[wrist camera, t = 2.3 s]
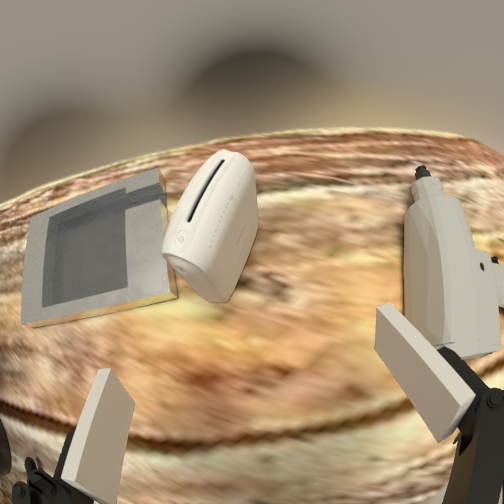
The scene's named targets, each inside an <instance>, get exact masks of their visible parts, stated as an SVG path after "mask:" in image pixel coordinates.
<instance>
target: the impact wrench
mask: <svg viewBox="0 0 504 504" xmlns="http://www.w3.org/2000/svg"><path fill="white" fill-rule="evenodd" d="M415 170H416V173H415V177H416V180H417V181H415V182H414V183H413V185H412V186H411V192H412V195H413V199H414V200H415V203H414V204H412V205H411V206H410V207H409V209H408V210H407V212H406V214H405V215H404V267H403V270H404V299H405V318H406V319H407V320H408V321H409V322H410V323H411V324H412V325H413V326H414V327H415V328H416V329H417V330H418V331H419V332H420V333H421V334H422V335H423V337H424V338H425V339H426V340H427V341H428V342H429V343H430V344H431V345H432V346H433V347H434V348H435V349H436V350H438V349H440V348H442V347H443V346H445V347H447V348H449V349H451V350H453V351H455V352H456V353H457V354H458V355H459V356H460V357H461V360H468V359H473V358H477V357H481V358H482V357H484V356H486V355H488V354H492V353H493V352H496V351H499V350H500V349H501V335H500V319H499V307H503V308H504V265H501V264H499V263H498V261H497V259H498V258H497V257H495V256H494V257H491V256H490V254H489V253H487V252H486V251H482V250H479V249H477V248H475V245H474V242H473V238H472V235H471V231H470V228H469V225H468V222H467V219H466V216H465V213H464V210H463V208H462V205H461V202H460V201H459V200H458V199H457V198H455V197H453V196H450V195H445V194H444V192H443V186H442V184H441V181H440V180H439V179H438V178H436V177H434V176H431V175H430V172H429V171H428V170H426V167H425V166H424V165H422V166H418V167H417V168H416V169H415ZM498 306H499V307H498Z"/></svg>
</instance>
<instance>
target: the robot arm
mask: <svg viewBox="0 0 504 504" xmlns="http://www.w3.org/2000/svg"><path fill="white" fill-rule="evenodd" d="M374 349H375V351H376V352H377V354H378V355H379V356H380V358H381V359H382V361H383V362H384V363H385V365H386V366H387V368H388V369H389V371H390V372H391V373H392V375H393V376H394V378H395V379H396V381H397V382H398V383H399V385H400V386H401V388H402V389H403V391H404V392H405V394H406V395H407V397H408V398H409V400H410V401H411V403H412V404H413V405H414V407H415V408H416V410H417V411H418V413H419V415H420V416H421V418H422V419H423V421H424V422H425V424H426V425H427V427H428V428H429V430H430V431H431V433H432V434H433V436H434V438H435V439H436V441H437V442H438V443H439V442H441V441H442V440H444V439H446V438H447V437H449V436H450V435H452V434H453V432H454V431H455V429H456V428H457V427H458V429H459V430H460V432H459V434H458V435H457V437H456V438H455V439H454V442H453V444H455V443H456V442H457V441H458V443H457V448H456V453H455V458H454V463H453V467H452V471H451V475H450V479H449V483H448V486H447V490H446V493H445V496H444V499H443V502H442V504H498V502H499V497H500V492H501V488H502V489H503V490H502V491H503V502H502V504H504V390H501V389H498V388H489V387H488V386H487V385H486V384H485V383H484V382H483V381H482V380H481V379H480V378H479V377H478V376H477V374H476V373H475V372H474V371H473V370H472V369H471V368H470V367H469V366H467V364H466V363H465V362H464V361H463V360H461V357H460V356H459V355H458V354H457V353H456V352H455V351H453V350H451V349H449V348H447V347H445V346H443V347H442V348H440V349H438V350H436V349H435V348H434V347H433V346H432V345H431V344H430V343H429V342H428V341H427V340H426V339H425V338H424V337H423V335H422V334H421V333H420V332H419V331H418V330H417V329H416V328H415V327H414V326H413V325H412V324H411V323H410V322H409V321H408V320H407V319H406V318H405V317H404V316H403V315H402V314H401V313H400V312H399V311H398V310H397V309H396V308H395V307H394V306H393V305H392V304H391V303H390V302H389V303H387V304H384V305H381V306H378V307H377V309H376V332H375V347H374ZM134 406H135V402H134V400H133V399H132V398H131V396H130V395H129V393H128V392H127V391H126V389H125V388H124V386H123V385H122V384H121V382H120V381H119V379H118V378H117V376H116V375H115V373H114V372H113V370H112V369H111V368H105V369H99V371H98V373H97V376H96V378H95V380H94V383H93V385H92V388H91V390H90V393H89V395H88V398H87V400H86V403H85V406H84V408H83V411H82V414H81V416H80V419H79V422H78V425H77V428H72V429H71V431H70V432H69V433H68V435H67V436H66V439H65V442H64V446H63V448H62V453H61V454H60V457H59V460H58V464H57V467H56V470H55V474H54V477H53V478H52V477H51V476H50V475H48V474H47V473H46V472H44V471H43V470H41V469H35V470H33V471H31V472H30V473H29V475H28V477H27V484H26V483H25V482H23V481H19V482H16V483H15V485H14V486H13V489H12V500H13V504H94V500H95V501H96V502H98V503H100V504H117V497H118V490H119V483H120V477H121V471H122V465H123V460H124V454H125V449H126V444H127V439H128V434H129V429H130V424H131V420H132V415H133V411H134ZM10 466H11V457H10V450H9V445H8V441H7V438H6V434H5V431H4V428H3V426H2V423H1V421H0V475H5V474H7V473H8V472H9V470H10Z"/></svg>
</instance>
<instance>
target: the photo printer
mask: <svg viewBox="0 0 504 504" xmlns="http://www.w3.org/2000/svg"><path fill="white" fill-rule="evenodd" d="M258 225H259V216H258V205H257V195H256V185H255V175H254V169H253V166H252V164H251V163H250V162H249V160H248V159H247V158H246V157H244V156H243V155H242V154H240V153H238V152H230V151H227V150H225V149H223V150H220V151H218V152H217V153H215V154H214V155H212V156H211V157H210V158H209V159H208V160H207V161H206V162H205V163H204V164H203V165H202V166H201V168H200V169H199V170H198V171H197V173H196V174H195V175H194V177H193V178H192V179H191V181H190V182H189V184H188V186H187V188H186V189H185V190H184V193H183V195H182V196H181V198H180V200H179V202H178V204H177V206H176V208H175V210H174V213H173V215H172V217H171V220H170V222H169V225H168V228H167V230H166V234H165V237H164V241H163V246H162V253H161V254H162V257H163V258H164V259H165V260H166V261H167V262H168V263H169V264H170V265H171V266H172V267H173V268H174V269H175V270H176V272H177V273H178V274H179V275H180V276H181V277H182V278H183V279H184V280H185V281H186V282H187V283H188V284H189V285H190V286H191V287H192V288H193V289H194V290H195V291H197V292H198V293H199V294H200V295H201V296H202V297H203V298H204V299H205V300H207V301H209V302H211V303H221V302H223V301H224V302H227V301H228V299H229V298H230V296H231V295H232V293H233V291H234V289H235V287H236V284H237V282H238V280H239V278H240V275H241V273H242V271H243V268H244V266H245V263H246V261H247V258H248V256H249V253H250V251H251V248H252V245H253V242H254V240H255V237H256V234H257V230H258Z"/></svg>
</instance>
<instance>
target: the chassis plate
mask: <svg viewBox="0 0 504 504" xmlns="http://www.w3.org/2000/svg"><path fill="white" fill-rule="evenodd" d="M168 225H169V224H168V214H167V203H166V191H165V179H164V177H163V175H162V173H161V171H160V169H159V168H156V169H153V170H149V171H146V172H143V173H140V174H137V175H134V176H131V177H128V178H125V179H123V180H120V181H117V182H114V183H112V184H109V185H106V186H103V187H101V188H98V189H96V190H93V191H91V192H88V193H86V194H83V195H81V196H78V197H76V198H73V199H71V200H69V201H66V202H64V203H62V204H59V205H57V206H55V207H53V208H51V209H48V210H46V211H44V212H42V213H40V214H38V215H36V216H34V217H32V218H31V221H30V226H29V232H28V238H27V245H26V252H25V260H24V270H23V283H22V303H21V324H23V325H26V326H29V327H32V328H37V327H42V326H48V325H53V324H59V323H64V322H69V321H74V320H79V319H85V318H90V317H95V316H99V315H104V314H109V313H114V312H119V311H124V310H128V309H133V308H138V307H142V306H147V305H151V304H156V303H160V302H165V301H169V300H174V299H178V293H177V287H176V280H175V273H174V268H173V267H172V266H171V265H170V264H169V263H168V262H167V261H166V260H165V259H164V258H163V257H162V254H161V253H162V246H163V241H164V237H165V234H166V230H167V228H168Z"/></svg>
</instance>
